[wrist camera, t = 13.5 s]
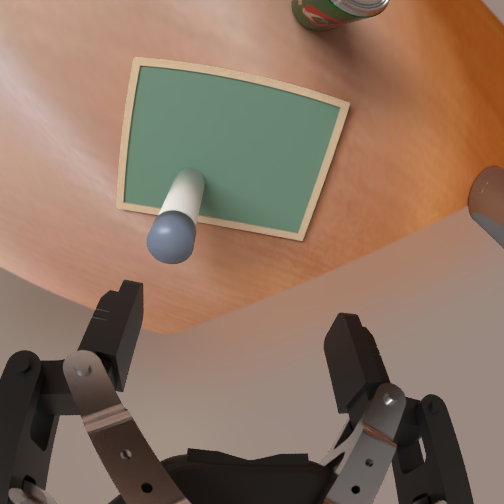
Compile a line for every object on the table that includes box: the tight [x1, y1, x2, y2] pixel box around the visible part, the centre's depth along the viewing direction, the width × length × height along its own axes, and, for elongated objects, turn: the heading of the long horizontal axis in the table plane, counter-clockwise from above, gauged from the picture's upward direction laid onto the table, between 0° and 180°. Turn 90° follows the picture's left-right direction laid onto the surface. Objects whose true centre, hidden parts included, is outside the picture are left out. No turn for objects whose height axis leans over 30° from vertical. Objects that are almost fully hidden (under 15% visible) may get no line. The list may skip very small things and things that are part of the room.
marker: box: [147, 168, 205, 264], centre depth 26 cm, size 3×3×12 cm
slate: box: [116, 57, 350, 241], centre depth 30 cm, size 22×17×1 cm
